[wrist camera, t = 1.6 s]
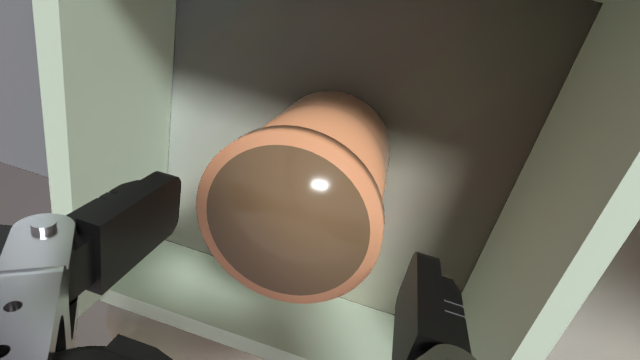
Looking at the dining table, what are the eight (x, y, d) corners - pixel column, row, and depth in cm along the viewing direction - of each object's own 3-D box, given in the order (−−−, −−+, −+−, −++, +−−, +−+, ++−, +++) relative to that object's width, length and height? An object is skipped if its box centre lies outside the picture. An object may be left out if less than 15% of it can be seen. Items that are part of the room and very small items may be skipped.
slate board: (-90, -86, 20) (-126, -93, 19) (120, -33, 19) (97, -37, 17) (-47, 132, 25) (-72, 139, 24) (121, 185, 24) (103, 195, 23)
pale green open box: (161, -126, 17) (-70, -252, 9) (644, -20, 15) (924, -58, 7) (149, 247, 25) (26, 357, 17) (453, 349, 23) (475, 527, 15)
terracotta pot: (283, 71, 19) (204, 107, 12) (411, 106, 18) (410, 166, 11) (263, 186, 22) (189, 272, 15) (374, 219, 21) (353, 327, 14)
